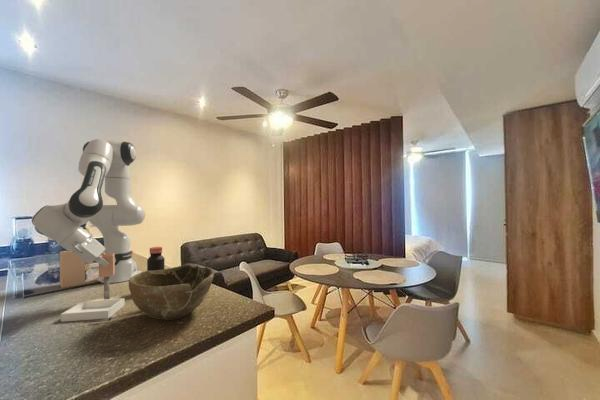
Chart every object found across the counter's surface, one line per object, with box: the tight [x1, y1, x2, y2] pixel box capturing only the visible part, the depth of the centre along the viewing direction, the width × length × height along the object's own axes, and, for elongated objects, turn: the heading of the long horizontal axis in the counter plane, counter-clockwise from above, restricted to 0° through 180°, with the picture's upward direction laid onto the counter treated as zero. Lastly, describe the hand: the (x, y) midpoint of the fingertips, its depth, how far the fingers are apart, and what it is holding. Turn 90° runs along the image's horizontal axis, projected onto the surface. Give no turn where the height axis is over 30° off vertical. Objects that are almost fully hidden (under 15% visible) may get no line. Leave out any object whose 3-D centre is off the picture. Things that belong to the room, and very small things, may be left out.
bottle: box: [146, 246, 166, 271], centre depth 119 cm, size 7×7×20 cm
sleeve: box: [98, 254, 115, 278], centre depth 107 cm, size 5×5×8 cm
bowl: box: [128, 264, 215, 321], centre depth 95 cm, size 28×27×15 cm
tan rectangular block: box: [59, 250, 86, 289], centre depth 131 cm, size 13×9×22 cm
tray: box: [60, 297, 126, 324], centre depth 95 cm, size 12×14×4 cm
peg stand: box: [94, 276, 122, 300], centre depth 107 cm, size 9×9×10 cm
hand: (108, 263), depth 107 cm, fingers closed on sleeve, 5 cm apart
